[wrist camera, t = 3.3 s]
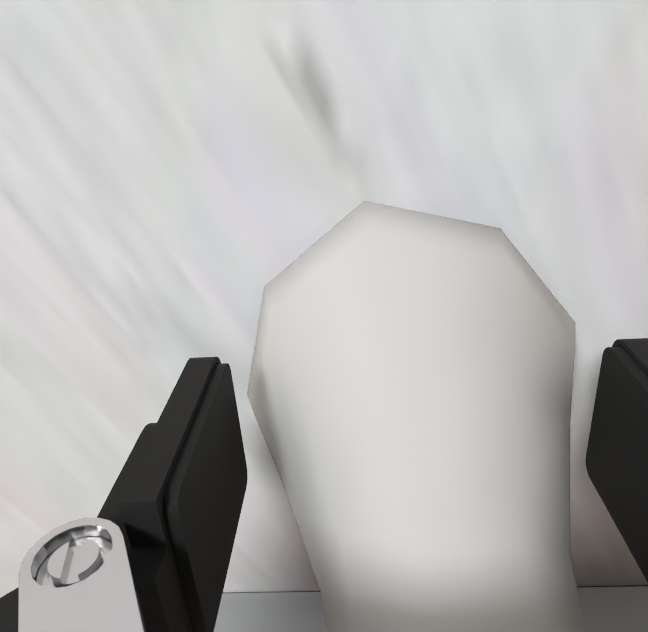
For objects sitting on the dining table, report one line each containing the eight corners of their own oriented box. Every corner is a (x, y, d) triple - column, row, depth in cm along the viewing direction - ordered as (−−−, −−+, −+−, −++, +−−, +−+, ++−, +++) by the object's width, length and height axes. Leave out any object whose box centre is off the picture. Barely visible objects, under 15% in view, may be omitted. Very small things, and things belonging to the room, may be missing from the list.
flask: (629, 303, 13) (1329, 958, 4) (442, 511, 15) (573, 1165, 6) (348, 135, 11) (348, 515, 2) (200, 398, 14) (-57, 1023, 5)
